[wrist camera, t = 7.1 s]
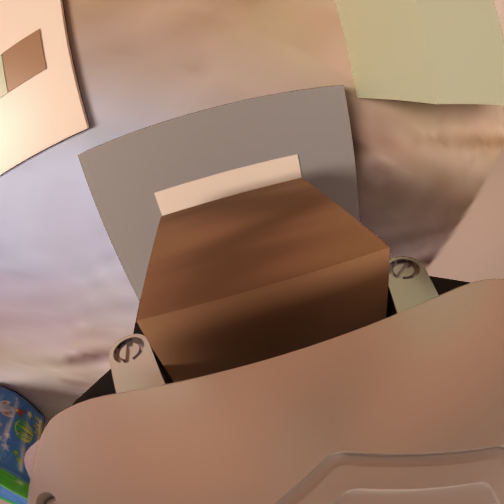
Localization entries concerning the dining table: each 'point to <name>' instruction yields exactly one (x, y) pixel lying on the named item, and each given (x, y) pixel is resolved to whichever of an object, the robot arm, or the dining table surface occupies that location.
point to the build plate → (219, 163)
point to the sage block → (425, 50)
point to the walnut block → (258, 279)
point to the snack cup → (16, 444)
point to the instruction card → (36, 80)
